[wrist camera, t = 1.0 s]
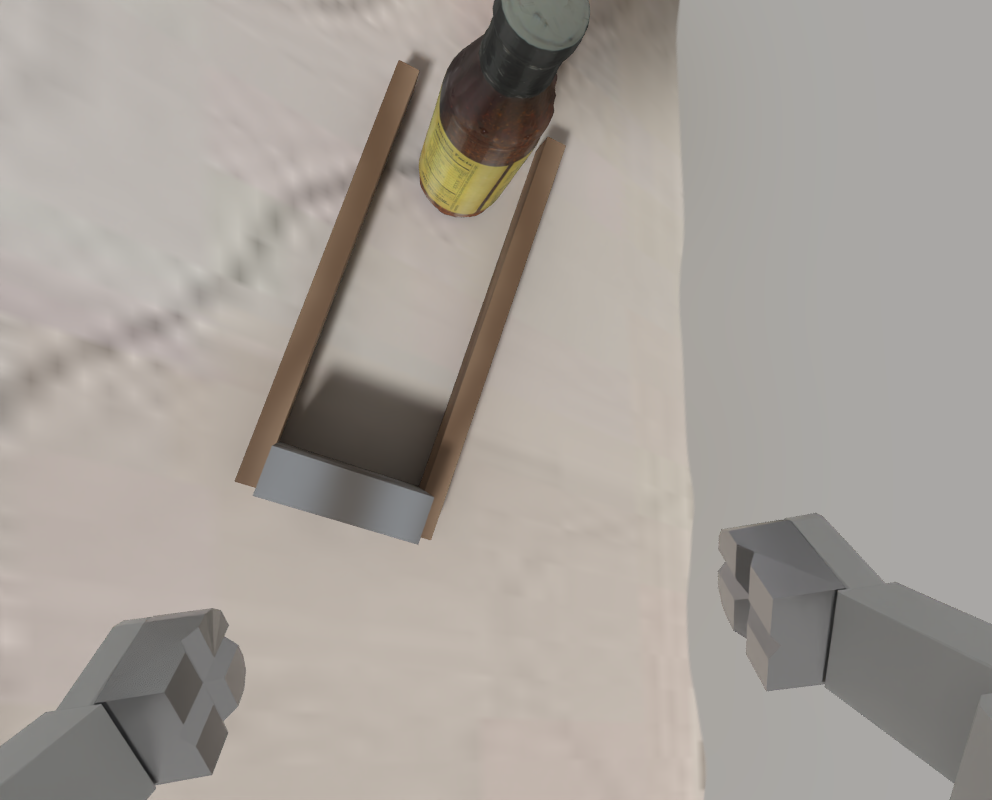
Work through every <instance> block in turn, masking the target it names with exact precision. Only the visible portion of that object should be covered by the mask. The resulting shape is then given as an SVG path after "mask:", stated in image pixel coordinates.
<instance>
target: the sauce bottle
mask: <svg viewBox="0 0 992 800" xmlns="http://www.w3.org/2000/svg"><path fill="white" fill-rule="evenodd" d="M589 18H590V6H589V1H588V0H495V1H494V5H493V18H492V20H491V24H490V26H489V28H488V29H487V30H486V32H485V34H484V35H482V36H481V37H480V38H478V39H477V40H475V41H474V42H472V43H471V44H470V45H468V46H467V47H466V48H464V49H463V50H462V51H461V52H460V53H459V54H458V55H457V56H456V57H455V58H454V59H453V61H452V62H451V64H450V66H449V67H448V69H447V72H446V74H445V77H444V80H443V82H442V86H441V89H440V92H439V96H438V99H437V103H436V106H435V110H434V113H433V116H432V119H431V122H430V126H429V129H428V132H427V135H426V138H425V142H424V145H423V148H422V151H421V155H420V159H419V172H420V184H421V188H422V190H423V191H424V193H425V195H426V197H427V198H428V199H429V201H430V202H431V203H432V204H433V205H434V206H435V207H436V208H438V209H439V211H440V212H442V213H444V214H446V215H451V216H454V217H472V216H476V215H478V214H480V213H482V212H483V211H484V210H485V209H486V208H488V207H489V206H491V205H492V204H493V203H494V202H495V201H496V200H497V199H498V197H499V196H500V195H501V193H502V192H503V190H504V189H505V188H506V186H507V185H508V184H509V182H510V181H511V179H512V178H513V177H514V175H515V174H516V172H517V171H518V170H519V168H520V167H521V166H522V164H523V163H524V162H525V160H526V159H527V158H528V156H529V155H530V153H531V152H532V151H533V149H534V148H535V146H536V145H537V143H538V141H539V139H540V136H541V135H542V134H543V133H544V131H545V130H546V128H547V126H548V125H549V123H550V121H551V118H552V116H553V113H554V106H553V105H554V100H555V97H556V94H555V84H556V81H557V74H556V73H557V70H558V68H559V66H560V65H561V63H562V62H563V61H564V60H566V59H567V58H568V57H569V56H570V55H571V54H572V53H573V52H574V51H575V49H576V48H577V46H578V45H579V43H580V42H581V40H582V38H583V36H584V35H585V32H586V30H587V27H588V23H589Z"/></svg>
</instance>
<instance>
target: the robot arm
mask: <svg viewBox="0 0 992 800" xmlns="http://www.w3.org/2000/svg"><path fill="white" fill-rule="evenodd" d="M718 549H719V551H720V553H721V555H722V556H723V558H724V560H725V561H726V562H725V563H724V564H723V565H722V567H721V568H720V569H719V570H718V588H719V593H720V597H721V602H722V606H723V609H724V611H725V614H726V616H727V619H728V621H729V623H730V625H731V626H732V628H733V630H734V631H735V632H737V633H738V634H740V635H742V636H743V637H745V638H746V639H747V642H746V655H747V657H748V658H749V660H750V662H751V664H752V666H753V667H754V669H755V671H756V673H757V675H758V677H759V679H760V680H761V682H762V684H763V686H764V688H765V690H766V691H772V690H780V689H788V688H797V687H804V686H813V685H821V684H825V688H827V689H828V690H829V691H831V692H832V693H833V694H835V695H836V696H837V697H839V698H840V699H841V700H843V701H844V702H846V703H847V704H848V705H850V706H851V707H852V708H854V709H855V710H856V711H857V712H859V713H860V714H861V715H863V716H864V717H866V718H867V719H868V720H870V721H871V722H872V723H874V724H875V725H876V726H878V727H879V728H880V729H882V730H883V731H884V732H886V733H887V734H888V735H890V736H891V737H893V738H894V739H895V740H896V741H898V742H899V743H901V744H902V745H903V746H904V747H906V748H907V749H909V750H910V751H911V752H913V753H914V754H915V755H917V756H918V757H919V758H921V759H922V760H923V761H925V762H926V763H927V764H929V765H930V766H932V767H933V768H934V769H935V770H937V771H938V772H940V773H941V774H942V775H943V776H945V777H946V778H947V779H949V780H950V781H952V782H953V783H954V787H953V790H952V794H951V797H950V800H992V624H990V623H988V622H985V621H983V620H981V619H978V618H976V617H974V616H972V615H969V614H967V613H965V612H962V611H960V610H958V609H956V608H954V607H951V606H949V605H947V604H945V603H942V602H940V601H937V600H935V599H933V598H931V597H929V596H926V595H924V594H922V593H919V592H917V591H915V590H913V589H910V588H908V587H906V586H904V585H901V584H899V583H897V582H893V583H885V582H884V581H883V580H882V579H881V578H880V577H879V576H878V575H877V574H876V573H875V571H874V570H873V569H872V568H871V567H870V566H869V565H868V564H867V563H866V562H865V561H864V560H863V559H862V557H860V555H859V554H858V553H857V552H856V551H855V550H854V549H853V548H852V547H851V546H850V545H849V544H848V542H847V541H846V540H845V539H844V538H843V537H842V536H841V535H840V534H839V533H838V532H837V531H836V530H835V529H834V527H832V526H831V524H830V523H829V522H828V521H827V520H826V519H825V518H824V517H823V516H822V515H819V514H817V513H813V514H807V515H802V516H796V517H790V518H785V519H784V520H776V521H770V522H764V523H757V524H751V525H745V526H739V527H733V528H727V529H721V532H720V535H719V547H718ZM228 626H229V624H228V623H227V621H226V619H225V617H224V615H223V613H222V611H221V610H218V609H213V608H211V609H203V610H196V611H188V612H180V613H173V614H165V615H158V616H153V617H147V618H139V619H132V620H124V621H122V622H121V623H119V624H117V625H116V626H114V627H113V628H112V630H111V631H110V633H109V634H108V635H107V637H106V638H105V640H104V641H103V643H102V644H101V646H100V647H99V649H98V650H97V651H96V653H95V654H94V656H93V657H92V659H91V660H90V662H89V663H88V664H87V666H86V667H85V669H84V670H83V672H82V673H81V675H80V676H79V678H78V679H77V680H76V682H75V683H74V685H73V686H72V688H71V689H70V691H69V692H68V693H67V695H66V696H65V698H64V699H63V701H62V702H61V704H60V705H59V707H58V708H57V709H56V711H51V712H45V713H44V714H43V715H41V716H40V717H39V718H37V719H36V720H35V721H33V722H32V723H31V724H29V725H28V726H27V727H25V728H24V729H23V730H21V731H20V732H19V733H17V734H16V735H15V736H13V737H12V738H11V739H9V740H8V741H7V742H5V743H4V744H3V745H1V746H0V800H147V798H148V797H149V796H150V795H151V794H152V793H153V792H154V790H155V789H156V786H155V785H159V784H165V783H170V782H176V781H181V780H187V779H192V778H198V777H203V776H209V775H212V774H213V771H214V769H215V766H216V763H217V761H218V758H219V756H220V753H221V750H222V748H223V745H224V742H225V740H226V737H227V735H228V731H227V728H226V726H225V723H224V720H225V719H226V718H227V717H228V716H229V715H230V714H231V713H232V712H233V711H234V710H235V709H236V708H237V707H238V705H239V703H240V700H241V697H242V694H243V691H244V686H245V674H246V668H245V663H244V657H243V654H242V652H241V650H240V648H239V645H237V644H236V643H234V642H233V641H231V640H229V639H228V638H226V637H224V636H225V633H226V631H227V628H228Z"/></svg>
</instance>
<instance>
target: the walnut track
mask: <svg viewBox="0 0 992 800" xmlns="http://www.w3.org/2000/svg"><path fill="white" fill-rule="evenodd" d="M419 71H420V70H418V69H416V68H414V67H412V66H410V65H408V64H406V63H404V62H402V61H400V60H399V61H398V63H397V66H396V69H395V71H394V74H393V76H392V79H391V81H390V84H389V86H388V89H387V92H386V94H385V97H384V99H383V102H382V104H381V107H380V110H379V112H378V115H377V117H376V120H375V122H374V125H373V128H372V130H371V133H370V135H369V138H368V140H367V143H366V145H365V148H364V151H363V153H362V156H361V158H360V161H359V163H358V166H357V169H356V171H355V174H354V176H353V179H352V181H351V184H350V187H349V189H348V192H347V194H346V197H345V199H344V202H343V204H342V207H341V210H340V212H339V215H338V217H337V220H336V222H335V225H334V228H333V230H332V233H331V235H330V238H329V240H328V243H327V246H326V248H325V251H324V253H323V256H322V258H321V261H320V263H319V266H318V269H317V271H316V274H315V276H314V279H313V281H312V284H311V287H310V289H309V292H308V294H307V297H306V299H305V302H304V305H303V307H302V310H301V312H300V315H299V317H298V320H297V322H296V325H295V328H294V330H293V333H292V335H291V338H290V340H289V343H288V346H287V348H286V351H285V353H284V356H283V358H282V361H281V364H280V366H279V369H278V371H277V374H276V376H275V379H274V381H273V384H272V387H271V389H270V392H269V394H268V397H267V399H266V402H265V405H264V407H263V410H262V412H261V415H260V417H259V420H258V423H257V425H256V428H255V430H254V433H253V435H252V438H251V440H250V443H249V446H248V448H247V451H246V453H245V456H244V458H243V461H242V464H241V466H240V469H239V471H238V474H237V476H236V479H235V482H238V483H241V484H245V485H248V486H251V487H255V488H256V489H255V491H254V494H253V496H255V497H259V498H262V499H266V500H269V501H272V502H276V503H279V504H282V505H286V506H289V507H293V508H296V509H299V510H303V511H306V512H309V513H313V514H316V515H320V516H323V517H326V518H330V519H333V520H337V521H340V522H343V523H347V524H350V525H353V526H357V527H360V528H364V529H367V530H370V531H374V532H377V533H380V534H384V535H387V536H391V537H394V538H397V539H401V540H404V541H408V542H411V543H414V544H418V543H419V541H420V538H421V537H422V538H425V539H428V540H431V538H432V535H433V532H434V530H435V527H436V524H437V521H438V518H439V515H440V512H441V509H442V506H443V503H444V500H445V497H446V494H447V492H448V489H449V486H450V483H451V480H452V477H453V474H454V471H455V468H456V465H457V462H458V459H459V456H460V454H461V451H462V448H463V445H464V442H465V439H466V436H467V433H468V430H469V427H470V424H471V421H472V419H473V416H474V413H475V410H476V407H477V404H478V401H479V398H480V395H481V392H482V389H483V386H484V383H485V381H486V378H487V375H488V372H489V369H490V366H491V363H492V360H493V357H494V354H495V351H496V348H497V345H498V343H499V340H500V337H501V334H502V331H503V328H504V325H505V322H506V319H507V316H508V313H509V310H510V307H511V305H512V302H513V299H514V296H515V293H516V290H517V287H518V284H519V281H520V278H521V275H522V272H523V270H524V267H525V264H526V261H527V258H528V255H529V252H530V249H531V246H532V243H533V240H534V237H535V234H536V232H537V229H538V226H539V223H540V220H541V217H542V214H543V211H544V208H545V205H546V202H547V199H548V196H549V194H550V191H551V188H552V185H553V182H554V179H555V176H556V173H557V170H558V167H559V164H560V161H561V158H562V156H563V153H564V150H565V147H566V146H565V145H563V144H561V143H559V142H558V141H556V140H554V139H552V138H550V137H547V138H546V140H545V141H544V142H543V143H542V145H541V146H540V147H539V148H538V150H537V151H536V153H535V156H534V159H533V161H532V164H531V167H530V170H529V173H528V176H527V179H526V181H525V184H524V187H523V190H522V193H521V196H520V199H519V202H518V204H517V207H516V210H515V213H514V216H513V219H512V222H511V224H510V227H509V230H508V233H507V236H506V239H505V242H504V245H503V247H502V250H501V253H500V256H499V259H498V262H497V265H496V267H495V270H494V273H493V276H492V279H491V282H490V285H489V288H488V290H487V293H486V296H485V299H484V302H483V305H482V308H481V310H480V313H479V316H478V319H477V322H476V325H475V328H474V331H473V333H472V336H471V339H470V342H469V345H468V348H467V351H466V353H465V356H464V359H463V362H462V365H461V368H460V371H459V374H458V376H457V379H456V382H455V385H454V388H453V391H452V394H451V396H450V399H449V402H448V405H447V408H446V411H445V414H444V416H443V419H442V422H441V425H440V428H439V431H438V434H437V437H436V439H435V442H434V445H433V448H432V451H431V454H430V457H429V459H428V462H427V465H426V468H425V471H424V474H423V477H422V480H421V482H420V485H419V487H418V486H415V485H412V484H409V483H406V482H402V481H399V480H396V479H393V478H390V477H387V476H384V475H381V474H378V473H375V472H371V471H368V470H365V469H362V468H359V467H356V466H353V465H350V464H347V463H344V462H340V461H337V460H334V459H331V458H328V457H325V456H322V455H319V454H316V453H313V452H309V451H306V450H303V449H300V448H297V447H294V446H291V445H288V444H285V443H282V442H279V441H280V438H281V436H282V433H283V430H284V428H285V425H286V423H287V420H288V417H289V415H290V412H291V410H292V407H293V404H294V402H295V399H296V397H297V394H298V391H299V389H300V386H301V384H302V381H303V378H304V376H305V373H306V370H307V368H308V365H309V363H310V360H311V357H312V355H313V352H314V350H315V347H316V344H317V342H318V339H319V337H320V334H321V331H322V329H323V326H324V324H325V321H326V318H327V316H328V313H329V310H330V308H331V305H332V303H333V300H334V297H335V295H336V292H337V290H338V287H339V284H340V282H341V279H342V277H343V274H344V271H345V269H346V266H347V264H348V261H349V258H350V256H351V253H352V250H353V248H354V245H355V243H356V240H357V237H358V235H359V232H360V230H361V227H362V224H363V222H364V219H365V217H366V214H367V211H368V209H369V206H370V204H371V201H372V198H373V196H374V193H375V190H376V188H377V185H378V183H379V180H380V177H381V175H382V172H383V170H384V167H385V164H386V162H387V159H388V157H389V154H390V151H391V149H392V146H393V144H394V141H395V138H396V136H397V133H398V130H399V128H400V125H401V123H402V120H403V117H404V115H405V112H406V110H407V107H408V104H409V102H410V99H411V97H412V94H413V91H414V88H415V85H416V81H417V78H418V74H419Z"/></svg>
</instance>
